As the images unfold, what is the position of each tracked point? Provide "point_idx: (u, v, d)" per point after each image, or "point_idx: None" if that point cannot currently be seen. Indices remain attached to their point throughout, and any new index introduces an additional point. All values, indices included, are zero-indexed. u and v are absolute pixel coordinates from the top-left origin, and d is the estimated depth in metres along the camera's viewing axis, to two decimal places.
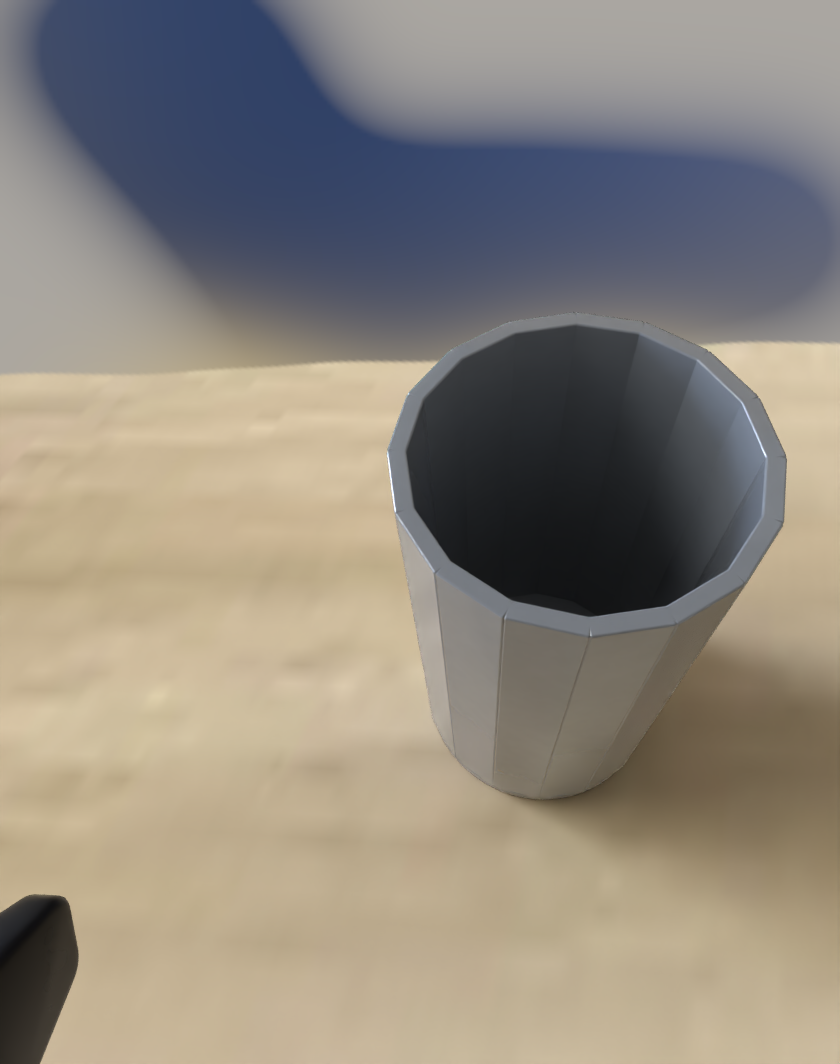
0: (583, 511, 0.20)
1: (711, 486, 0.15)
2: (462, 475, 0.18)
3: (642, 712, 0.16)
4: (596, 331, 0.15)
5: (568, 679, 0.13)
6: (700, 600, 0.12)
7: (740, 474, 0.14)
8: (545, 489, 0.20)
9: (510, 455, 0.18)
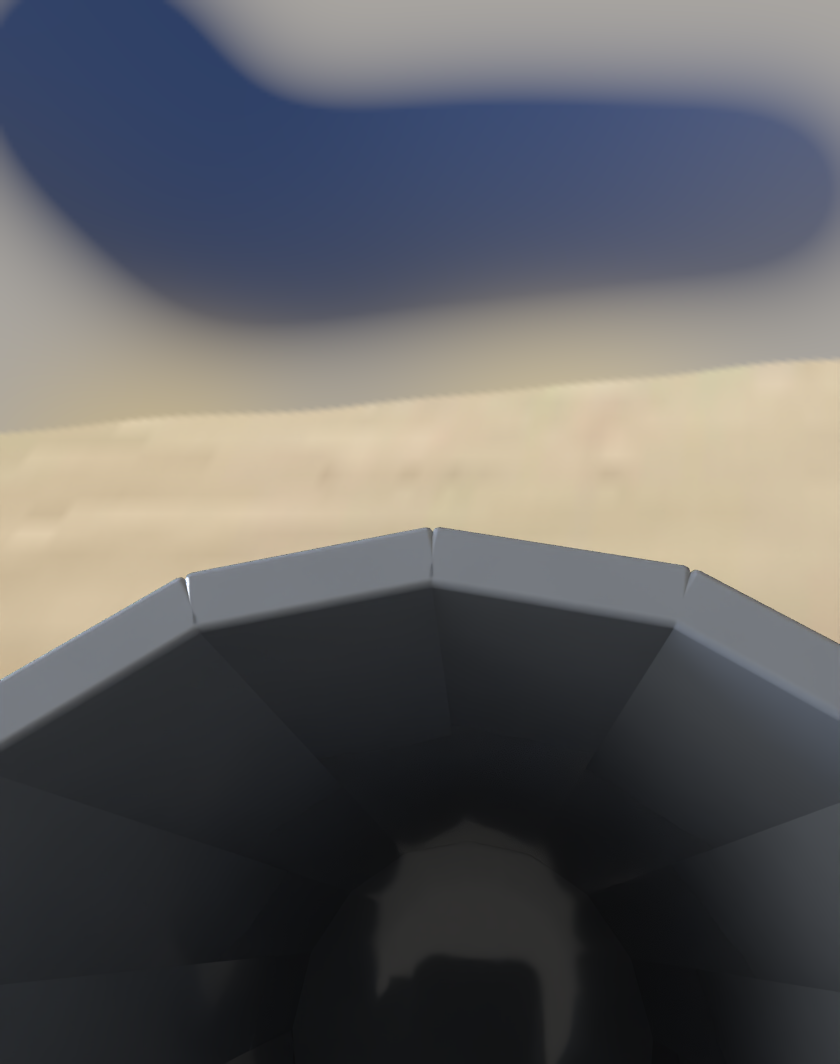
0: (531, 809, 0.09)
1: None
2: (206, 858, 0.07)
3: None
4: (508, 606, 0.04)
5: None
6: None
7: None
8: (444, 787, 0.09)
9: (339, 776, 0.07)
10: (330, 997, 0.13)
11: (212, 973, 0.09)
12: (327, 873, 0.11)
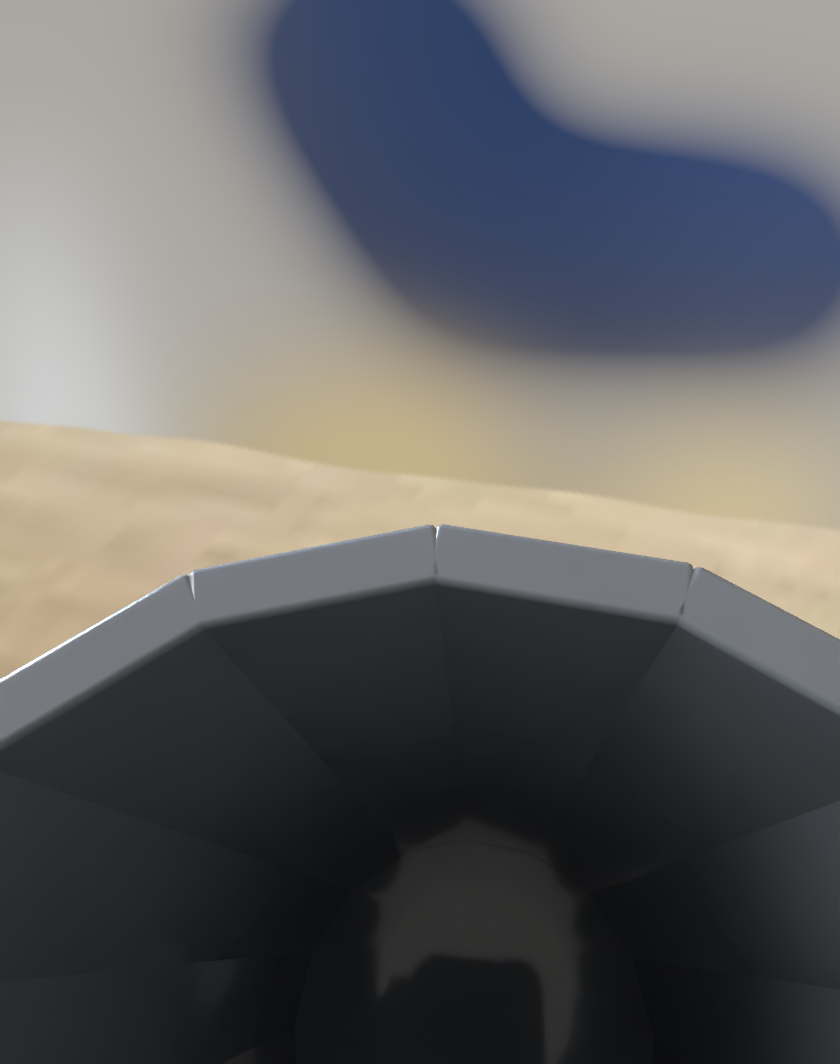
0: (532, 808, 0.10)
1: None
2: (207, 856, 0.07)
3: None
4: (512, 603, 0.04)
5: None
6: None
7: None
8: (445, 785, 0.09)
9: (339, 774, 0.07)
10: (331, 996, 0.13)
11: (214, 971, 0.09)
12: (328, 872, 0.11)
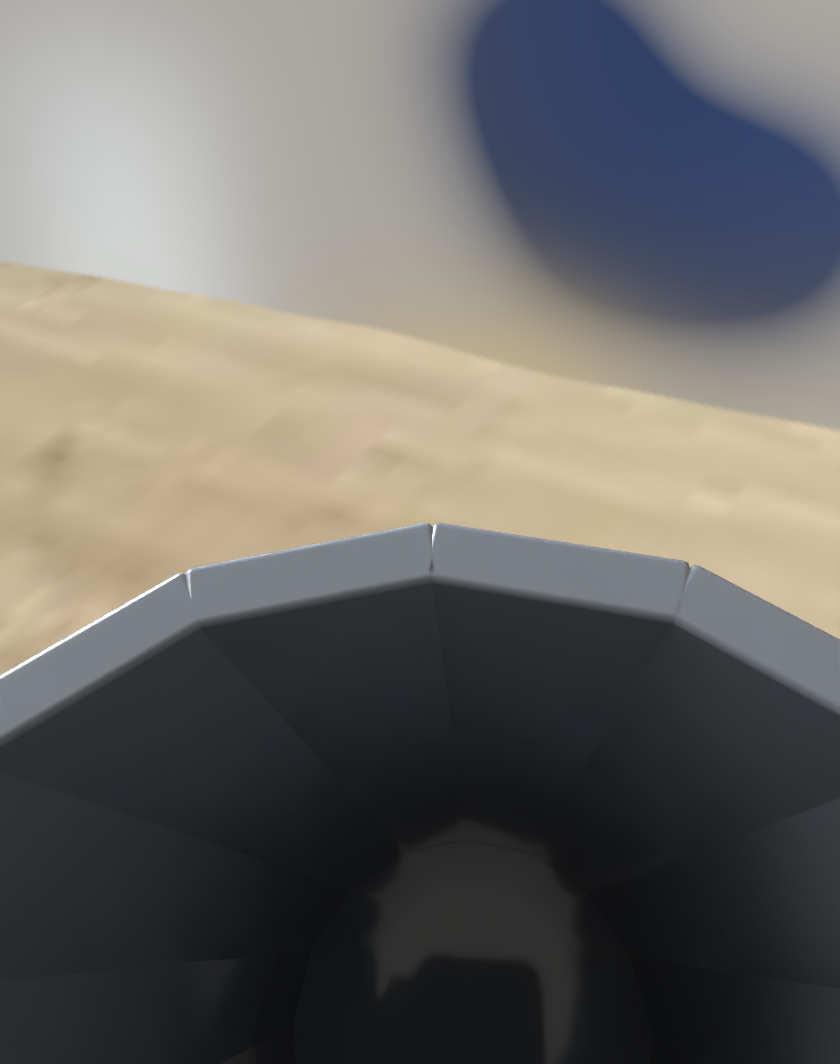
0: (531, 807, 0.09)
1: None
2: (206, 855, 0.07)
3: None
4: (508, 602, 0.04)
5: None
6: None
7: None
8: (444, 785, 0.09)
9: (338, 773, 0.07)
10: (330, 996, 0.13)
11: (212, 971, 0.09)
12: (327, 871, 0.11)
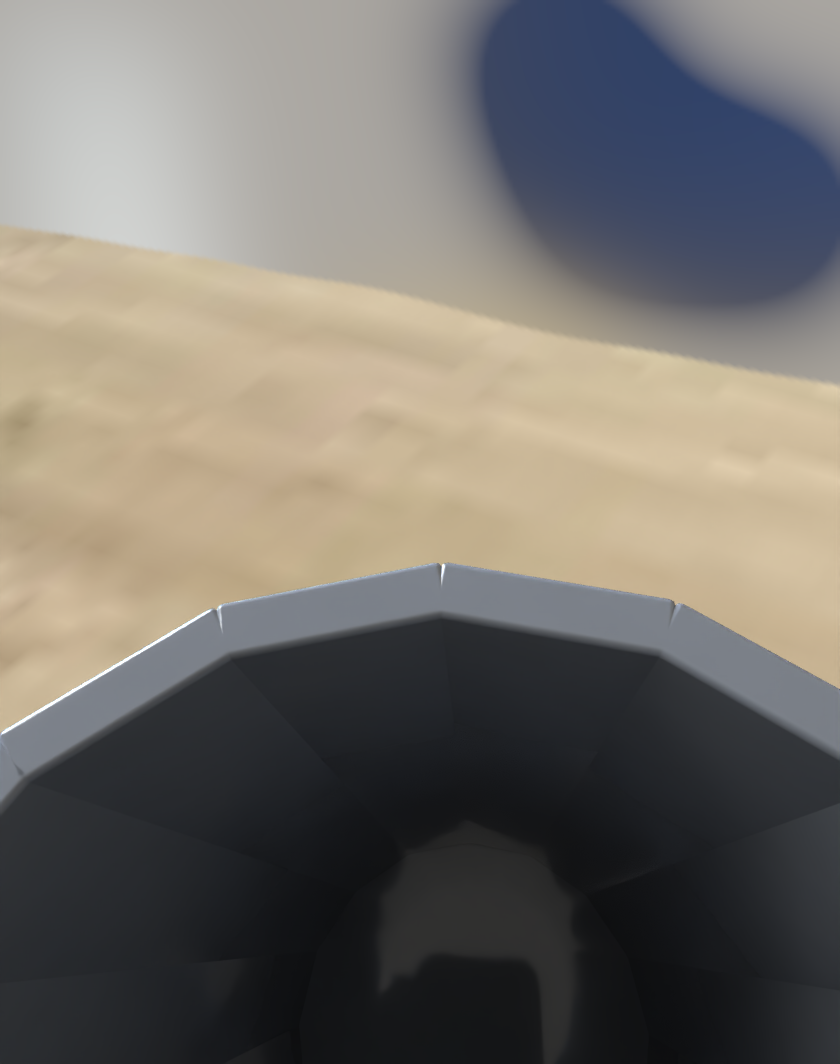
0: (531, 813, 0.10)
1: None
2: (224, 862, 0.07)
3: None
4: (510, 636, 0.04)
5: None
6: None
7: None
8: (447, 792, 0.09)
9: (348, 784, 0.08)
10: (336, 994, 0.14)
11: (226, 970, 0.09)
12: (334, 874, 0.12)
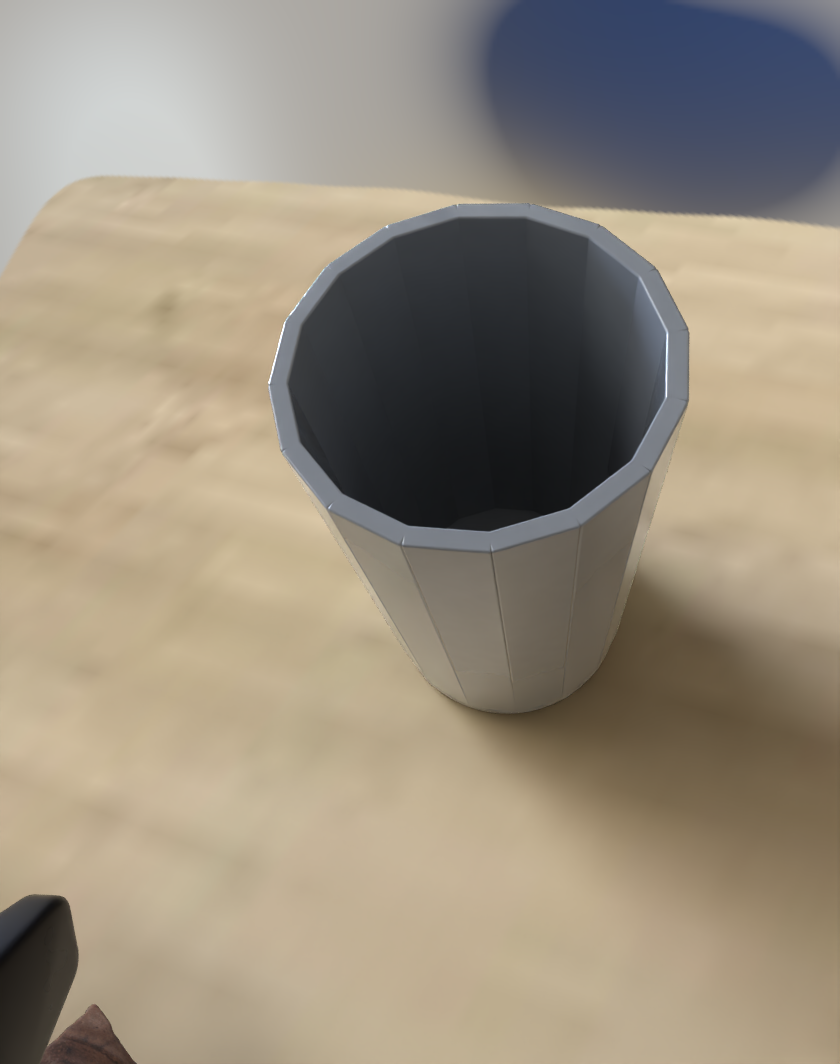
0: (518, 418, 0.19)
1: (628, 372, 0.14)
2: (377, 399, 0.17)
3: (589, 616, 0.16)
4: (480, 222, 0.14)
5: (490, 597, 0.13)
6: (604, 497, 0.11)
7: (649, 355, 0.13)
8: (474, 400, 0.19)
9: (427, 371, 0.17)
10: None
11: (374, 495, 0.19)
12: (418, 491, 0.21)
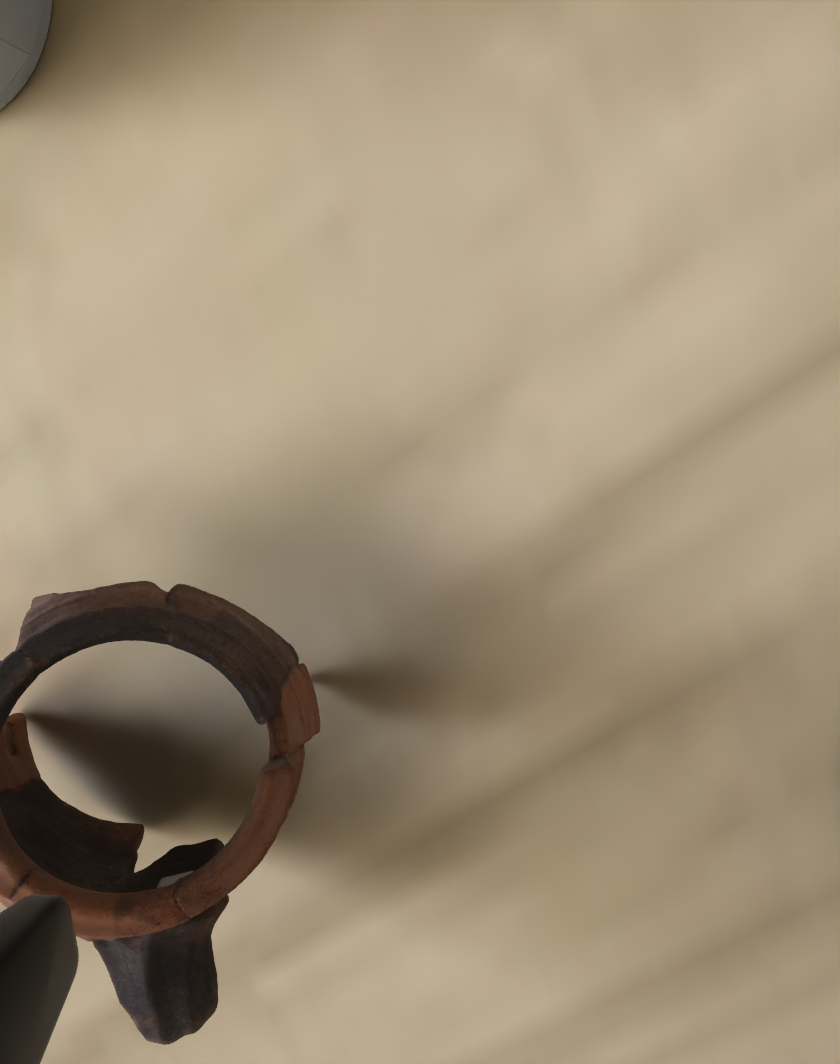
0: None
1: None
2: None
3: None
4: None
5: None
6: None
7: None
8: None
9: None
10: None
11: None
12: None
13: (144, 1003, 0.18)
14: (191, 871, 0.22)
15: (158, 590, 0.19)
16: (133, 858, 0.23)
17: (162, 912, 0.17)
